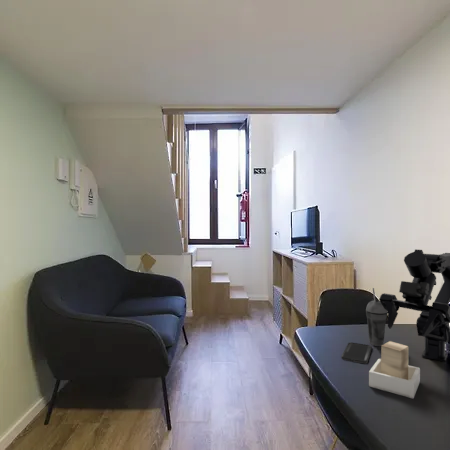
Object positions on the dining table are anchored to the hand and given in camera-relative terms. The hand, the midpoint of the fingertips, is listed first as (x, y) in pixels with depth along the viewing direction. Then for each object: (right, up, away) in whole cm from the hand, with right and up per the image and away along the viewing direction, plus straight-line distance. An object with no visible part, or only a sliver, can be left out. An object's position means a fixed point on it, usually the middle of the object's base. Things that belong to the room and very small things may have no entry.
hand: (405, 331), depth 98 cm
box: (-5, -13, -4) cm, 15 cm away
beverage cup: (+3, -12, +26) cm, 29 cm away
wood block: (-5, -12, -4) cm, 14 cm away
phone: (-7, -13, +17) cm, 23 cm away
